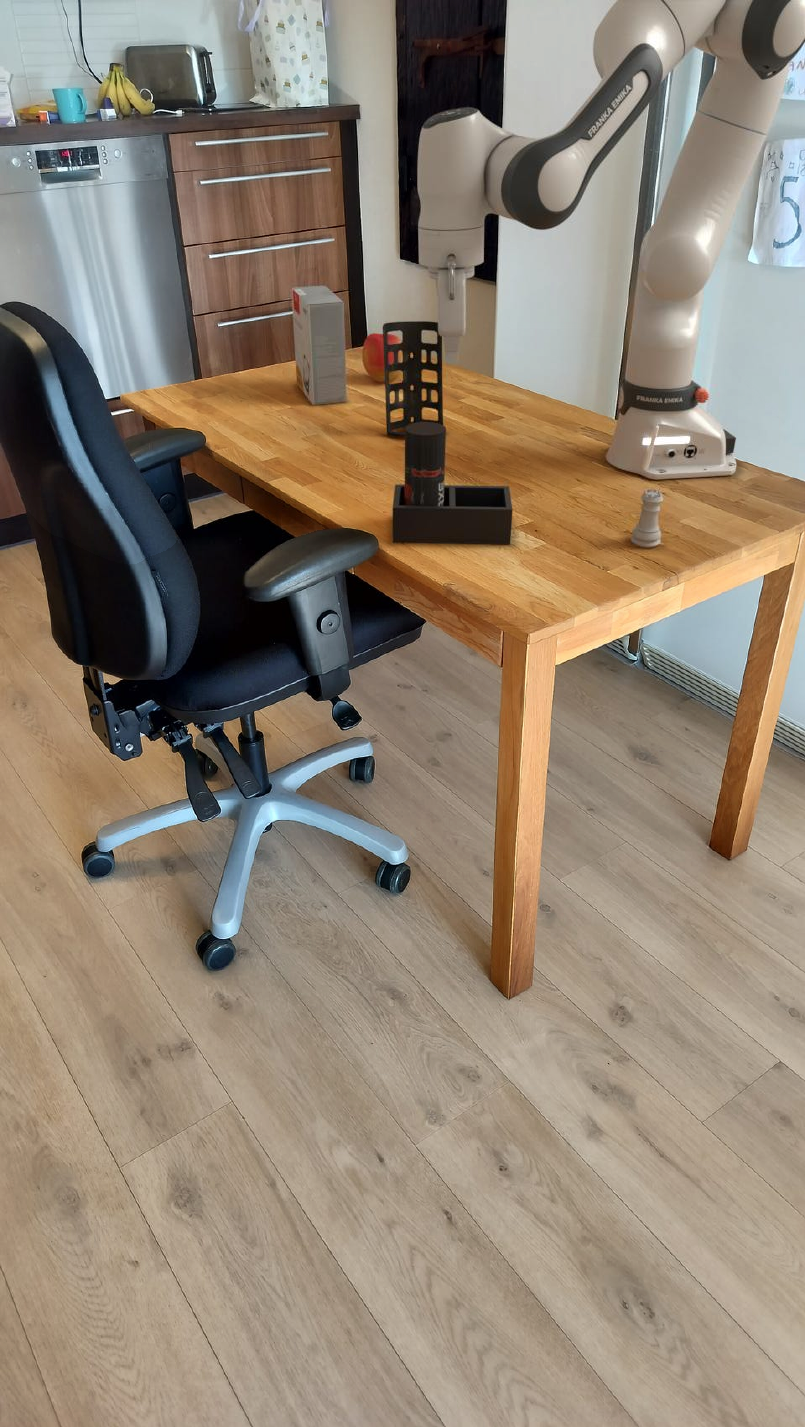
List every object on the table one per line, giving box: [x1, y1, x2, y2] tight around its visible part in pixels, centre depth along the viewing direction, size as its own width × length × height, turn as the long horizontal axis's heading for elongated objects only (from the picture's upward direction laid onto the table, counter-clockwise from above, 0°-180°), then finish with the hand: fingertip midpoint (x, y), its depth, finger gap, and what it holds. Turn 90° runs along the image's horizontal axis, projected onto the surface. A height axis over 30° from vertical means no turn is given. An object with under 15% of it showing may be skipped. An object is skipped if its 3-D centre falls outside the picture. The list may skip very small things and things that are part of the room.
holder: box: [382, 320, 444, 438], centre depth 185 cm, size 11×8×20 cm
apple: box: [361, 332, 403, 384], centre depth 215 cm, size 10×10×10 cm
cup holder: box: [392, 483, 514, 546], centre depth 150 cm, size 9×18×6 cm, turn 88°
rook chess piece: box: [630, 488, 664, 549], centre depth 146 cm, size 4×4×8 cm
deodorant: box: [404, 422, 447, 506], centre depth 147 cm, size 6×6×15 cm
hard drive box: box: [290, 285, 348, 406], centre depth 205 cm, size 16×8×20 cm, turn 17°
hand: (451, 354), depth 142 cm, fingers open, 8 cm apart
